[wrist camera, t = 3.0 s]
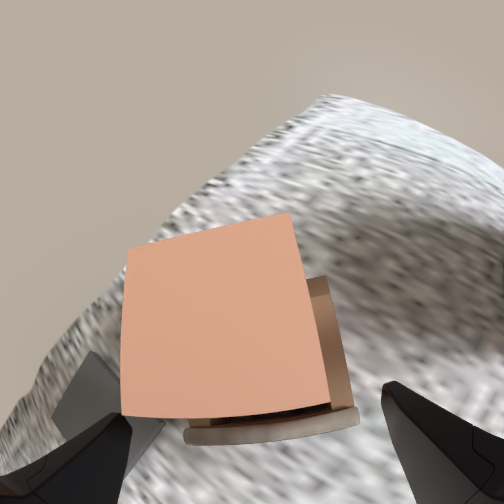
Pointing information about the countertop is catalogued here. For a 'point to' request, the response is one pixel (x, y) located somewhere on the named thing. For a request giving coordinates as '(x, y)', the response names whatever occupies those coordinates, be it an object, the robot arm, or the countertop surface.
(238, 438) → the open wooden box
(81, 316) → the countertop surface
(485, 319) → the countertop surface
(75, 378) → the pad
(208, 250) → the block
